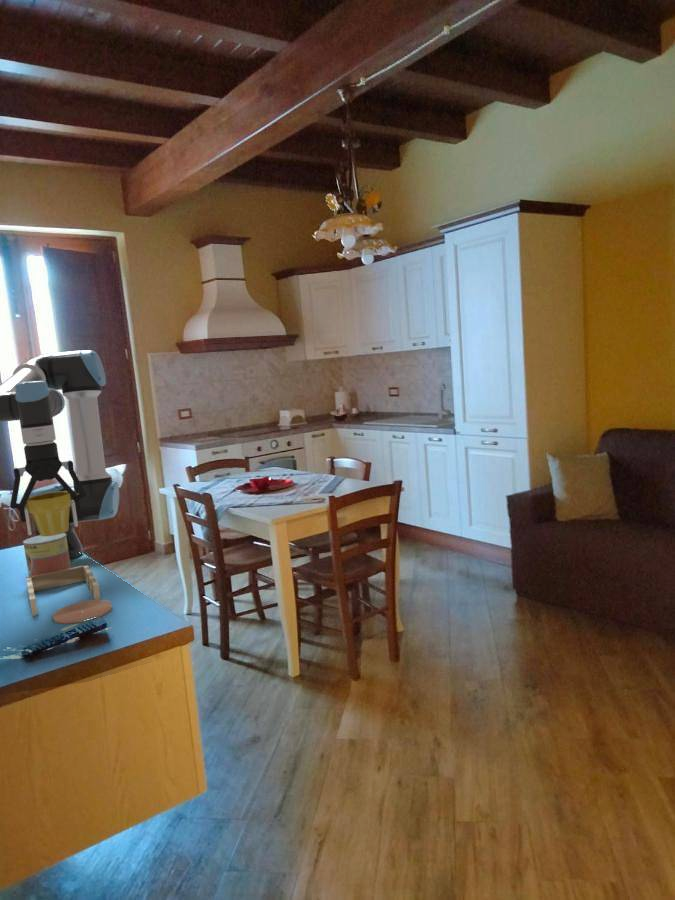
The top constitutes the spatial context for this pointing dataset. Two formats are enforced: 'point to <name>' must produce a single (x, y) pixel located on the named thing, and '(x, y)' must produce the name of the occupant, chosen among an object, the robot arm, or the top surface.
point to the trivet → (82, 611)
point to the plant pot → (50, 512)
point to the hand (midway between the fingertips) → (53, 529)
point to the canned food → (46, 554)
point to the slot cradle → (61, 582)
